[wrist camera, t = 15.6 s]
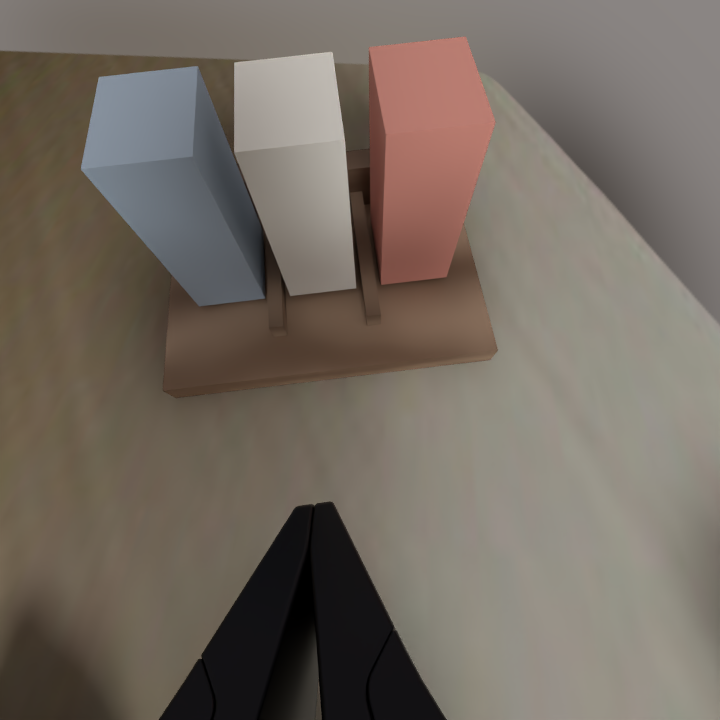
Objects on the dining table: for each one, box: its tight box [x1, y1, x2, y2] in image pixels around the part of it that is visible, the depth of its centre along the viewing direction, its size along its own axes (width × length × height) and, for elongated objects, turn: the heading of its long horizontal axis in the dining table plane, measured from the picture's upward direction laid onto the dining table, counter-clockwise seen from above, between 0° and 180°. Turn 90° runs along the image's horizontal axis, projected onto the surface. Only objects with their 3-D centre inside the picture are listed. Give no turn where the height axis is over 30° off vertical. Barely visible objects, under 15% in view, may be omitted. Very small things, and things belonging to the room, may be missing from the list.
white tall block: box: [234, 52, 356, 296], centre depth 19 cm, size 5×4×10 cm
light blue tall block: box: [81, 66, 265, 306], centre depth 19 cm, size 5×4×10 cm
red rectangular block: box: [369, 37, 495, 285], centre depth 19 cm, size 5×4×10 cm
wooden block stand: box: [163, 149, 498, 398], centre depth 23 cm, size 13×19×4 cm
